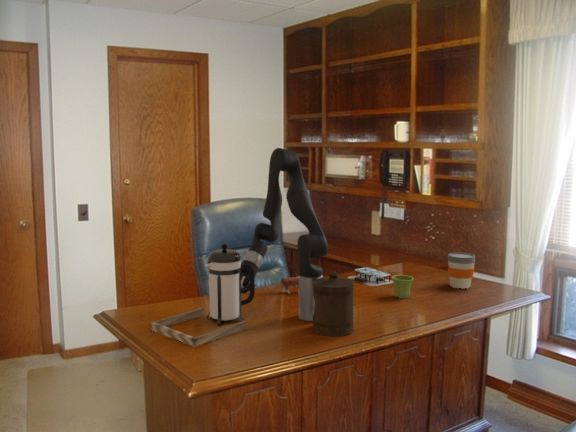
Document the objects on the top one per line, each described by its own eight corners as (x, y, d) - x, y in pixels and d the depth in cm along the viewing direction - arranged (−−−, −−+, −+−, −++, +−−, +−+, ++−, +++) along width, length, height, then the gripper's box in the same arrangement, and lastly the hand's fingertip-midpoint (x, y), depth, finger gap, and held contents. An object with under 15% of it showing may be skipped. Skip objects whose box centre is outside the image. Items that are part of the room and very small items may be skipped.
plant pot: (411, 294, 260) (412, 275, 259) (414, 300, 251) (414, 280, 249) (390, 293, 261) (391, 274, 260) (392, 299, 252) (392, 280, 250)
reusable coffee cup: (440, 284, 276) (442, 253, 274) (461, 281, 282) (462, 251, 279) (458, 290, 265) (460, 259, 263) (479, 287, 270) (481, 256, 268)
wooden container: (328, 320, 223) (328, 265, 220) (360, 329, 214) (362, 271, 211) (304, 330, 212) (305, 272, 209) (338, 340, 202) (339, 279, 199)
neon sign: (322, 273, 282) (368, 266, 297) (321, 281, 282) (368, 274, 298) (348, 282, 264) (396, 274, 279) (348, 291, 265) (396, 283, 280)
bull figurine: (310, 294, 260) (310, 276, 258) (280, 293, 260) (280, 276, 259) (310, 291, 264) (310, 274, 263) (281, 291, 264) (281, 273, 263)
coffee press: (238, 328, 214) (237, 249, 210) (199, 323, 219) (197, 246, 215) (255, 314, 230) (254, 240, 226) (219, 310, 235) (217, 238, 231)
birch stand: (246, 329, 213) (245, 321, 212) (194, 347, 195) (193, 339, 195) (201, 315, 230) (201, 307, 229) (150, 330, 212) (150, 322, 212)
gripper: (234, 257, 238) (215, 293, 230) (260, 261, 231) (242, 298, 223) (241, 267, 244) (224, 302, 235) (267, 271, 237) (250, 308, 228)
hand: (232, 300), depth 229 cm, fingers closed
